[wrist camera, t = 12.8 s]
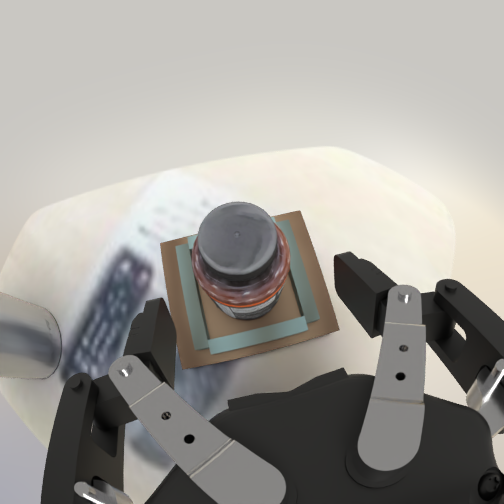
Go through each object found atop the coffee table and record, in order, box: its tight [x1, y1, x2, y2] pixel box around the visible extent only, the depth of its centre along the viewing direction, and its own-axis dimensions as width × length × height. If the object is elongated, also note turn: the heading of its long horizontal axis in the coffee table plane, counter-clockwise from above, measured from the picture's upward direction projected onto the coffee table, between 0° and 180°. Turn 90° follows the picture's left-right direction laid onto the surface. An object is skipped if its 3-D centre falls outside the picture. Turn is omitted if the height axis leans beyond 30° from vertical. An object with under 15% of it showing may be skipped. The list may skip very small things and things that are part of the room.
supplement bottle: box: [191, 202, 290, 320], centre depth 19 cm, size 6×6×11 cm
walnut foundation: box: [160, 211, 339, 370], centre depth 25 cm, size 14×12×4 cm
